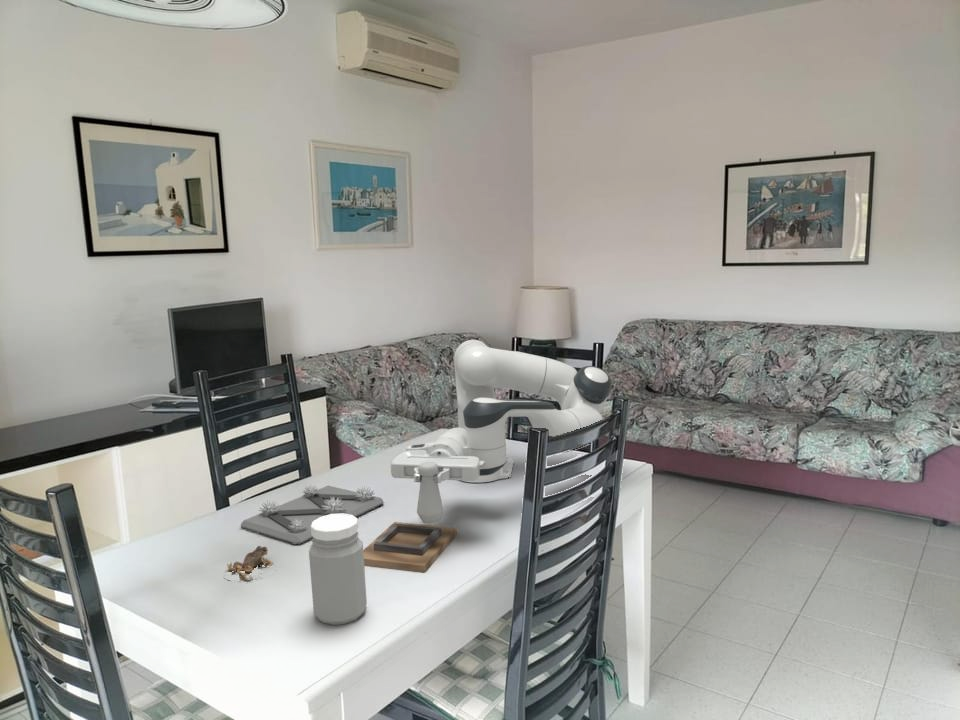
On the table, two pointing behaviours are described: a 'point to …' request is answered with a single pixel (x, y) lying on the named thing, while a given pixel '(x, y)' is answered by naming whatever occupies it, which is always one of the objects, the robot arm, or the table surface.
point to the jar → (337, 569)
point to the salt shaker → (429, 494)
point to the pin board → (408, 546)
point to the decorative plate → (309, 512)
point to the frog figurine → (250, 564)
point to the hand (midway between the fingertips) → (426, 479)
